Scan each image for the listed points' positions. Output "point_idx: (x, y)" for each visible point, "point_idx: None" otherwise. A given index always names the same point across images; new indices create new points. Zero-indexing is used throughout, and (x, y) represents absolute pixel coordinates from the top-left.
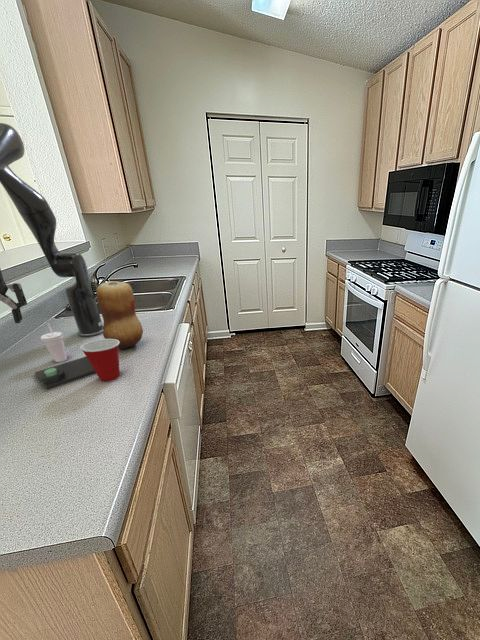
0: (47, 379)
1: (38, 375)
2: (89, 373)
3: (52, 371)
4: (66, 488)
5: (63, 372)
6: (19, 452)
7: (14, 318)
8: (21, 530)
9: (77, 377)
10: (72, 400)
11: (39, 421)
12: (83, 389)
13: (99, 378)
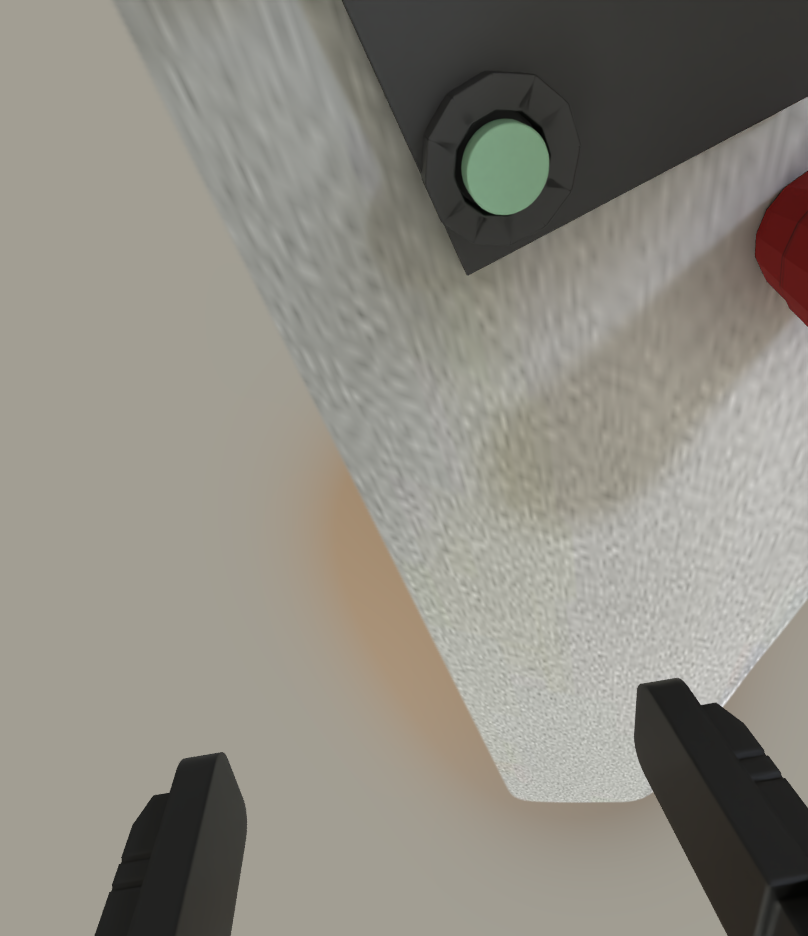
0: (482, 241)
1: (363, 29)
2: (718, 139)
3: (526, 200)
4: (590, 743)
5: (576, 155)
6: (468, 646)
7: (674, 818)
8: (527, 785)
9: (638, 182)
10: (598, 426)
11: (488, 532)
12: (652, 334)
13: (760, 266)
